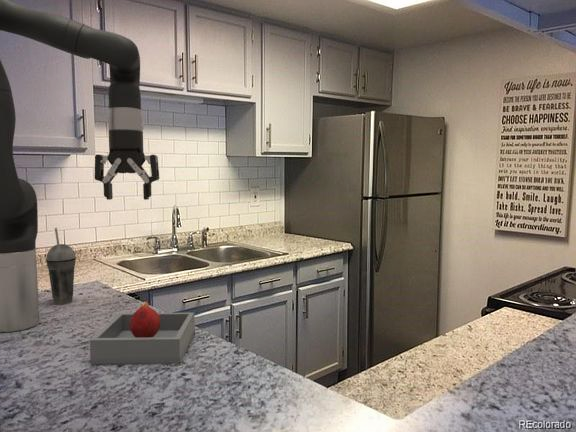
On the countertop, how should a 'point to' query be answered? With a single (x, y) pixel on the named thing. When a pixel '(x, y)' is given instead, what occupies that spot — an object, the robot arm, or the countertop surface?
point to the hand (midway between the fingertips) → (128, 199)
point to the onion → (145, 322)
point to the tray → (143, 341)
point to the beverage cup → (61, 272)
